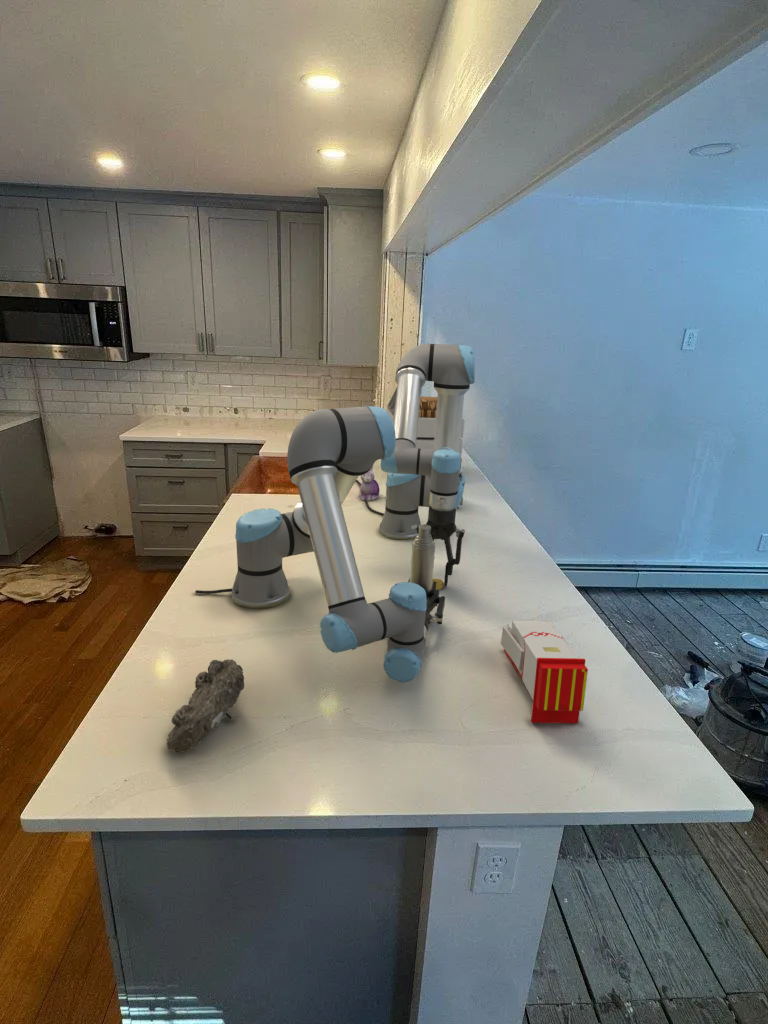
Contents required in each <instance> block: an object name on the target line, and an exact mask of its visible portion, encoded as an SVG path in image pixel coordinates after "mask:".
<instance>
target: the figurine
mask: <svg viewBox="0 0 768 1024" xmlns="http://www.w3.org/2000/svg"><path fill="white" fill-rule="evenodd" d="M373 469H374V465H373V466H372V468H371V469H370V471H369V472H368V473H366V474H364V475H362V476H360V479H361V482H360V483H361V486H360V485H359V486H360V487H359V491H360V494H359V498H360V500H361V501H365V500H364V499H365V498H366V499H367V502H369V501H374V500H377V499H379V497H380V491H381V490H380V485H379V483H378V481H377V480H376V479H375V474H374V472H373Z"/></svg>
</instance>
